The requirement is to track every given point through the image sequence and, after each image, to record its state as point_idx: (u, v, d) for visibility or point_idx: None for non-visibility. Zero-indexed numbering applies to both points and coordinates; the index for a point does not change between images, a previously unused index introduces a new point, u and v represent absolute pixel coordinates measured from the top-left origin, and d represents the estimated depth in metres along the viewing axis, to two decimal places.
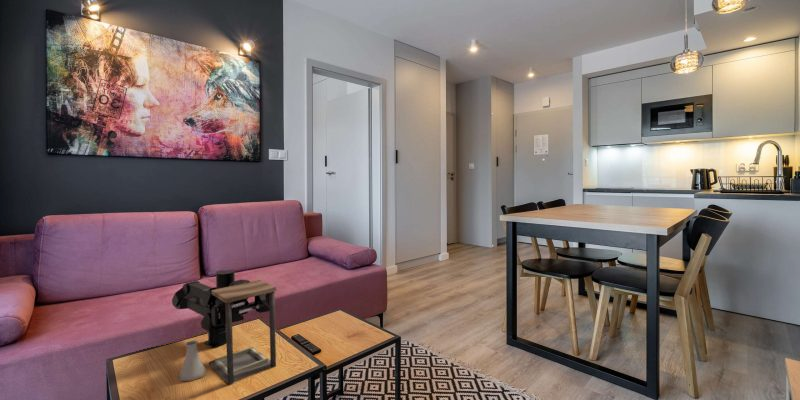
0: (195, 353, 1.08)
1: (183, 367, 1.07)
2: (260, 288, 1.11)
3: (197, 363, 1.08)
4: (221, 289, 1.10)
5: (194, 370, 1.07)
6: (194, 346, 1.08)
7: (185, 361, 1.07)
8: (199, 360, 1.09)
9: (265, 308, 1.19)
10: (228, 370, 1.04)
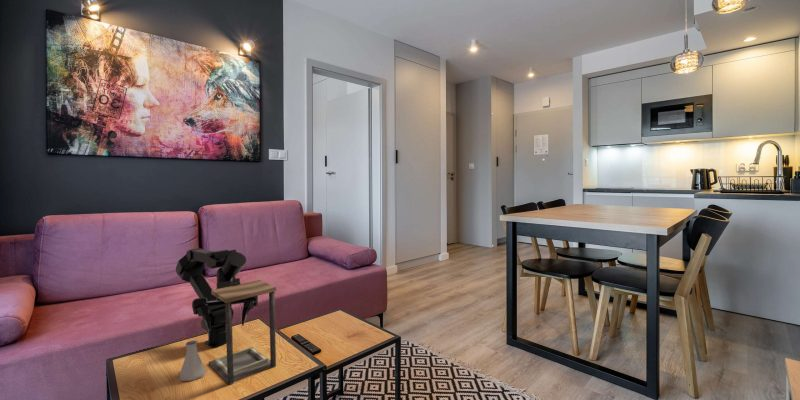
0: (195, 353, 1.08)
1: (183, 367, 1.07)
2: (260, 288, 1.11)
3: (197, 363, 1.08)
4: (221, 289, 1.10)
5: (194, 370, 1.07)
6: (194, 346, 1.08)
7: (185, 361, 1.07)
8: (199, 360, 1.09)
9: (242, 318, 1.15)
10: (228, 370, 1.04)
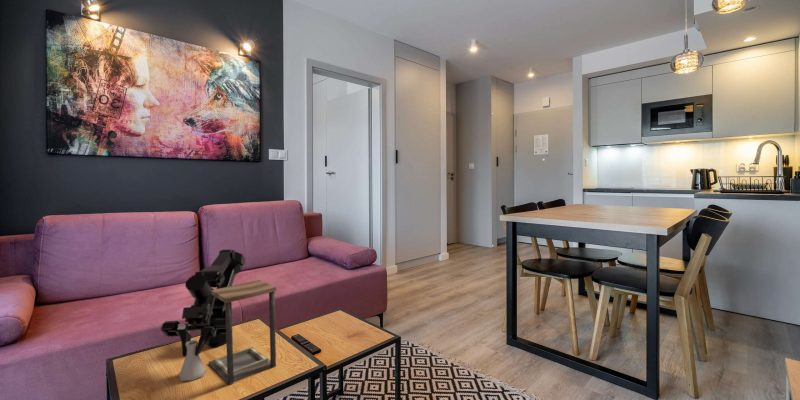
0: None
1: (183, 367, 1.07)
2: (260, 288, 1.11)
3: (197, 363, 1.08)
4: (221, 289, 1.10)
5: (194, 369, 1.07)
6: (194, 346, 1.08)
7: (185, 361, 1.07)
8: (199, 360, 1.09)
9: None
10: (228, 370, 1.04)
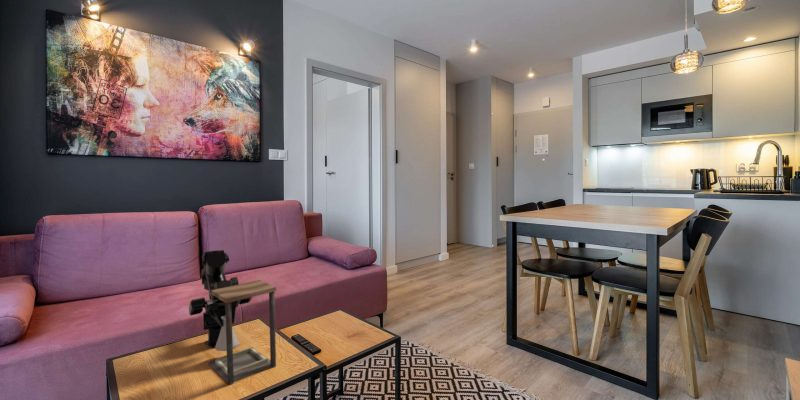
0: None
1: (222, 339, 1.16)
2: (260, 288, 1.11)
3: (234, 333, 1.18)
4: (221, 289, 1.10)
5: (234, 339, 1.17)
6: None
7: (223, 333, 1.16)
8: None
9: None
10: (228, 370, 1.04)
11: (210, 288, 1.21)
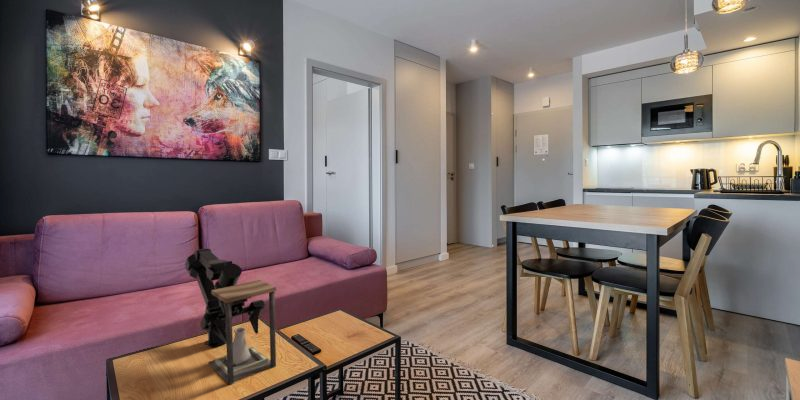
0: (244, 338, 1.15)
1: (234, 353, 1.13)
2: (260, 288, 1.11)
3: (246, 346, 1.16)
4: (221, 289, 1.10)
5: (246, 352, 1.15)
6: (244, 332, 1.15)
7: (236, 347, 1.14)
8: (245, 343, 1.17)
9: (254, 327, 1.18)
10: (228, 370, 1.04)
11: (221, 301, 1.17)
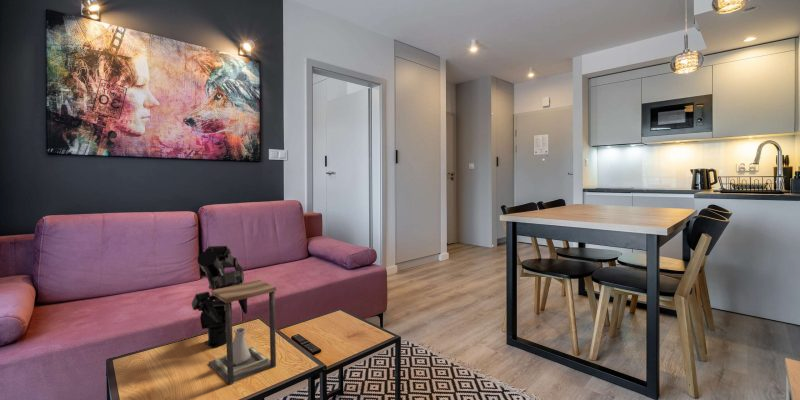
0: (244, 338, 1.15)
1: (234, 353, 1.13)
2: (260, 288, 1.11)
3: (246, 346, 1.16)
4: (221, 289, 1.10)
5: (246, 352, 1.15)
6: (244, 332, 1.15)
7: (236, 347, 1.14)
8: (245, 343, 1.17)
9: (243, 308, 1.24)
10: (228, 370, 1.04)
11: (211, 283, 1.23)
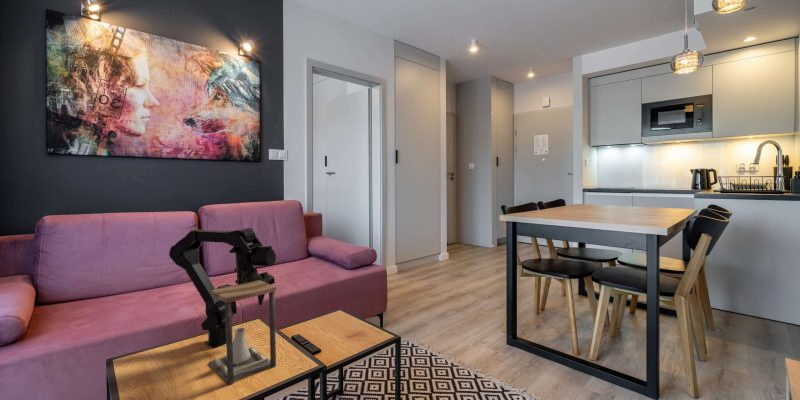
0: (244, 338, 1.15)
1: (234, 353, 1.13)
2: (260, 288, 1.11)
3: (246, 346, 1.16)
4: (221, 289, 1.10)
5: (246, 352, 1.15)
6: (244, 332, 1.15)
7: (236, 347, 1.14)
8: (245, 343, 1.17)
9: (259, 298, 1.30)
10: (228, 370, 1.04)
11: (239, 273, 1.23)
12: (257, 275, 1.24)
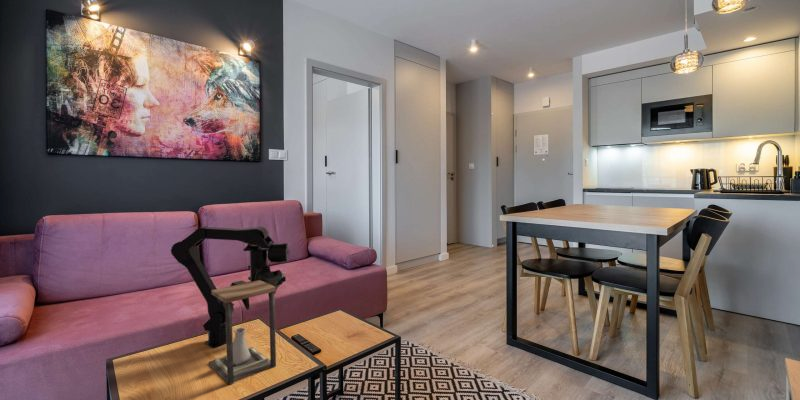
0: (244, 338, 1.15)
1: (234, 353, 1.13)
2: (260, 288, 1.11)
3: (246, 346, 1.16)
4: (221, 289, 1.10)
5: (246, 352, 1.15)
6: (244, 332, 1.15)
7: (236, 347, 1.14)
8: (245, 343, 1.17)
9: None
10: (228, 370, 1.04)
11: (253, 270, 1.27)
12: (270, 272, 1.28)
